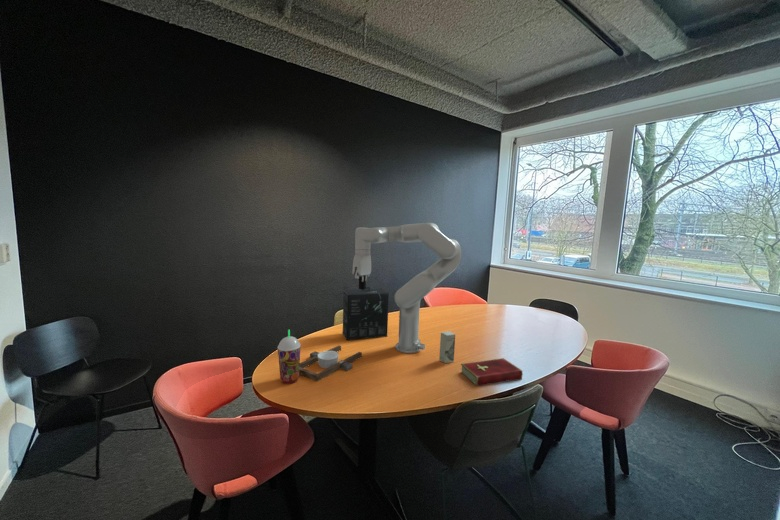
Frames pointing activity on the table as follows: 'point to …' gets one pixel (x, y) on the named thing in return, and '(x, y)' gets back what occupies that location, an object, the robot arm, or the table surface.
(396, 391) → the table surface
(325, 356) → the ramekin
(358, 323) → the headset box
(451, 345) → the box
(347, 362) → the beam track
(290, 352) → the smoothie
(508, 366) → the hardcover book
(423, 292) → the robot arm
